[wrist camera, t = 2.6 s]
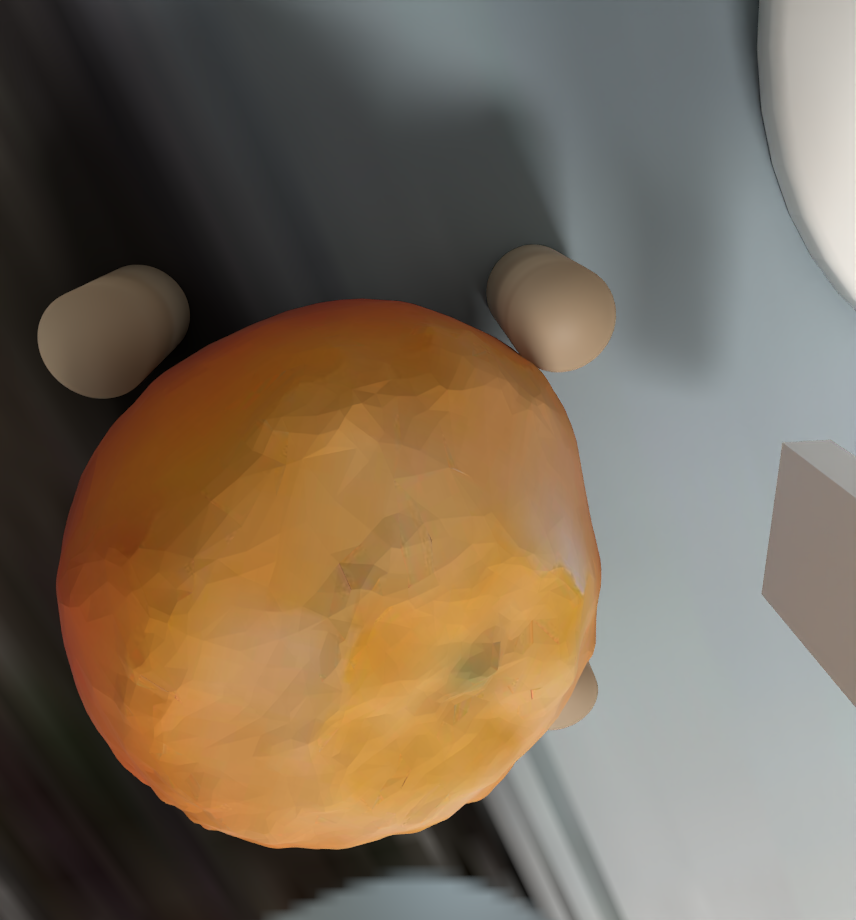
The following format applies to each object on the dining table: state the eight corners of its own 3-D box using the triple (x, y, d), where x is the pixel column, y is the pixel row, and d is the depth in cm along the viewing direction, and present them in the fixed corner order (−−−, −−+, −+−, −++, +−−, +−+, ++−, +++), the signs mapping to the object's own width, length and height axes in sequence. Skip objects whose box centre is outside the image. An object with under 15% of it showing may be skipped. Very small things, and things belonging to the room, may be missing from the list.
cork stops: (168, 675, 16) (135, 762, 14) (86, 267, 13) (26, 291, 11) (565, 646, 17) (596, 726, 14) (576, 241, 14) (619, 261, 11)
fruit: (-36, 256, 12) (100, 410, 6) (405, 250, 16) (745, 334, 10) (29, 696, 15) (164, 1101, 9) (386, 591, 19) (641, 812, 13)
